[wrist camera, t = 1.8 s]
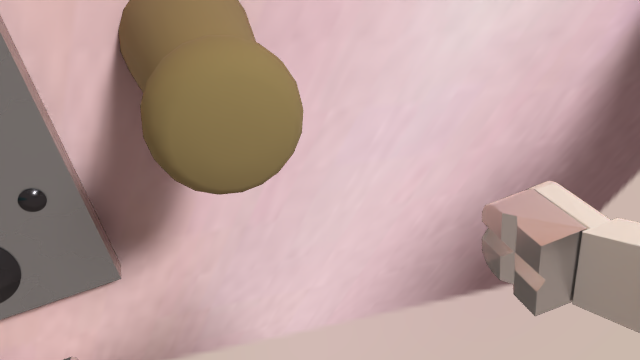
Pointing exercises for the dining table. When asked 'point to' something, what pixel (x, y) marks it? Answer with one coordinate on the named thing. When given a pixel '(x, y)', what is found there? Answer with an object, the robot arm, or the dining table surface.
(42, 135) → the flange plate
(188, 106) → the cork
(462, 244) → the dining table surface
